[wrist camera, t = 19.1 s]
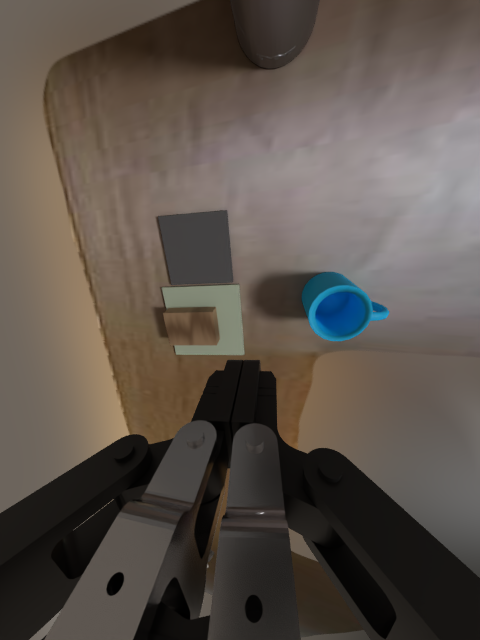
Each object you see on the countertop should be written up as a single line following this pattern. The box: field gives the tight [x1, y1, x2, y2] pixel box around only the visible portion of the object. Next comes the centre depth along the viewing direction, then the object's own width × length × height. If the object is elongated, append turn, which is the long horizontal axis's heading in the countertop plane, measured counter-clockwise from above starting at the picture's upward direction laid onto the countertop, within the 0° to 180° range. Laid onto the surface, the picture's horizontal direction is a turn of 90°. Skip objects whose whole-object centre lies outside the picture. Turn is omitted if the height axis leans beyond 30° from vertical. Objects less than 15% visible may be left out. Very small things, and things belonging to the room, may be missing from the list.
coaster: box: [158, 210, 233, 285], centre depth 37 cm, size 11×11×1 cm
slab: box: [163, 307, 220, 345], centre depth 41 cm, size 6×3×9 cm
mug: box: [302, 272, 389, 341], centre depth 34 cm, size 12×8×8 cm
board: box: [162, 284, 245, 355], centre depth 42 cm, size 14×14×1 cm
